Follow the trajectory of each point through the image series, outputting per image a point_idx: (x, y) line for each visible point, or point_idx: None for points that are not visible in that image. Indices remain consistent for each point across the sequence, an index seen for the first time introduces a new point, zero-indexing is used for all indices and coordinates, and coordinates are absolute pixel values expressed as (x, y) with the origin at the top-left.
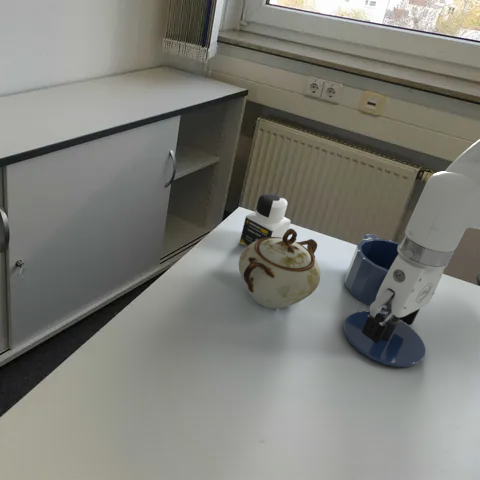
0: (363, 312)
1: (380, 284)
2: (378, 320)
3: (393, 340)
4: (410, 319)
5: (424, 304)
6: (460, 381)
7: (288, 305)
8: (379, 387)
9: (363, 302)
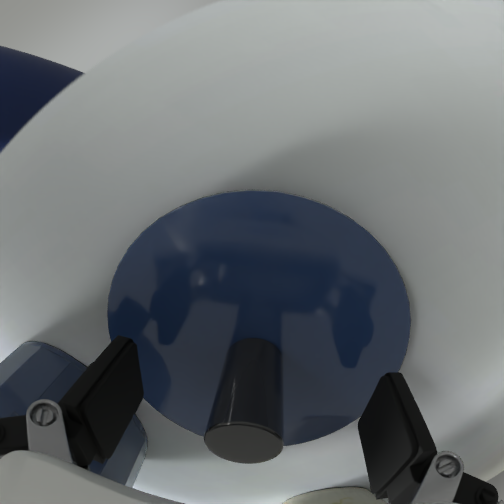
0: (200, 432)
1: (101, 473)
2: (472, 481)
3: (243, 328)
4: (122, 364)
5: (86, 500)
6: (203, 43)
7: (363, 498)
8: (483, 235)
9: (142, 426)
